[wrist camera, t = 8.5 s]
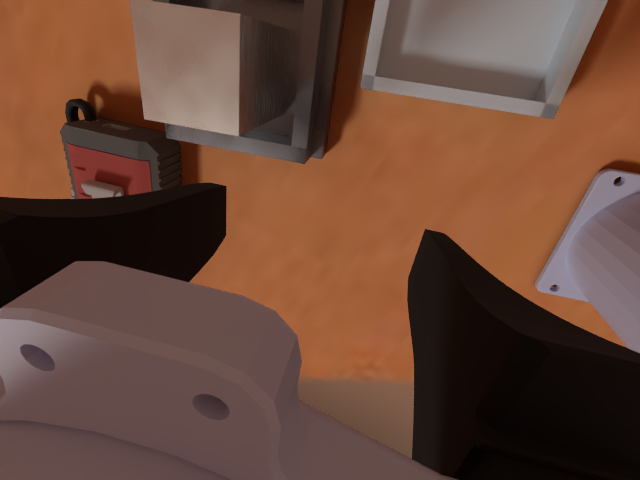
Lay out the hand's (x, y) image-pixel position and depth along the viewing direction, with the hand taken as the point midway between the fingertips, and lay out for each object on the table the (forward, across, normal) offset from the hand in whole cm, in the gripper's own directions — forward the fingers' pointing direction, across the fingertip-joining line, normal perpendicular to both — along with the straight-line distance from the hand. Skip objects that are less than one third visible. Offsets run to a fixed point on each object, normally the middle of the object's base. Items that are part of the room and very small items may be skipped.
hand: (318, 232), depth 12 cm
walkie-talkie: (+10, +15, +9) cm, 20 cm away
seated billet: (+8, +6, -4) cm, 11 cm away
